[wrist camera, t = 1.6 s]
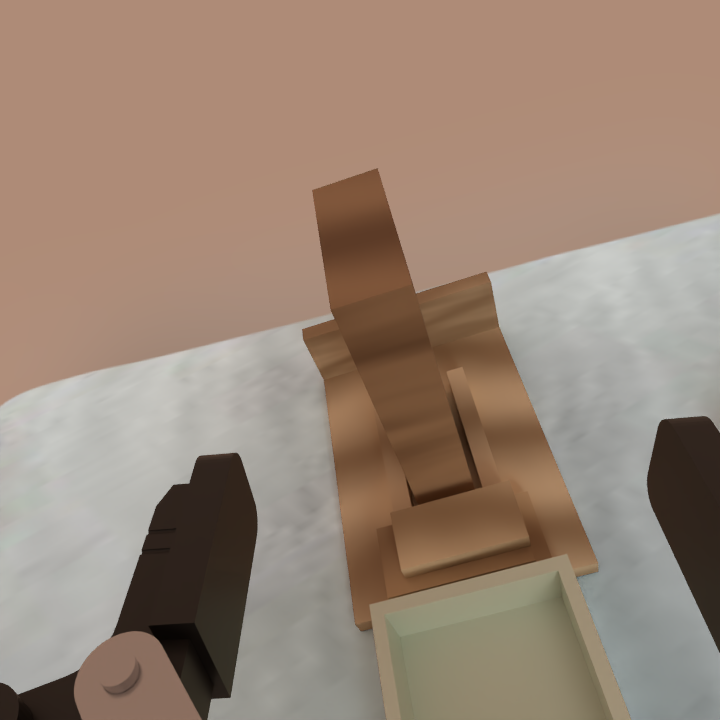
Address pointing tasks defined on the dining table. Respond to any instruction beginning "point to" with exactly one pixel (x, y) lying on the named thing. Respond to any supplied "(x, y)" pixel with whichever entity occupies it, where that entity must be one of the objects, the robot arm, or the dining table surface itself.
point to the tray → (496, 650)
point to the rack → (482, 452)
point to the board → (388, 334)
